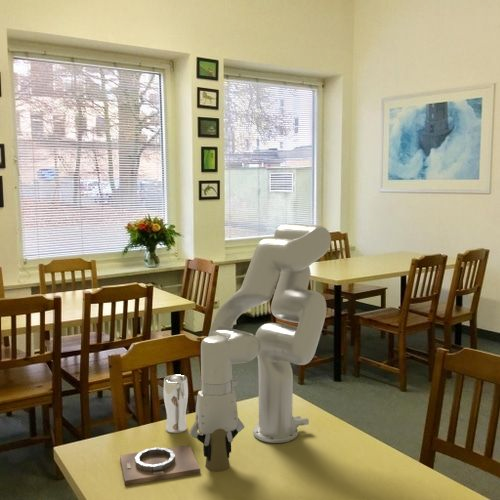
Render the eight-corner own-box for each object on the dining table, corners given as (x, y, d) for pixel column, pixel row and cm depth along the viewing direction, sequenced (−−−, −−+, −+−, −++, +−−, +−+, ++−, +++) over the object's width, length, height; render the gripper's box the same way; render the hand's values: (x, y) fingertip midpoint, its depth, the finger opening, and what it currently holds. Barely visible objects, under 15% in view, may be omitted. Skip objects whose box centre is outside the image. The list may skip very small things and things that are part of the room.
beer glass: (193, 426, 162) (192, 376, 160) (180, 435, 155) (179, 384, 154) (172, 421, 164) (171, 373, 163) (159, 431, 158) (158, 380, 156)
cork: (226, 472, 135) (225, 429, 134) (202, 470, 137) (201, 427, 135) (232, 460, 141) (231, 419, 140) (209, 458, 143) (208, 417, 141)
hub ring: (171, 450, 144) (170, 445, 144) (177, 468, 135) (177, 462, 135) (133, 456, 141) (133, 450, 141) (137, 475, 132) (137, 469, 132)
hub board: (189, 449, 147) (189, 444, 147) (200, 473, 135) (200, 467, 135) (120, 459, 142) (120, 454, 142) (125, 485, 130) (124, 480, 130)
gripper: (244, 377, 143) (244, 445, 145) (180, 385, 138) (181, 455, 140) (253, 388, 136) (253, 458, 138) (186, 396, 130) (187, 469, 133)
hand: (217, 456), depth 139 cm, fingers closed on cork, 4 cm apart
